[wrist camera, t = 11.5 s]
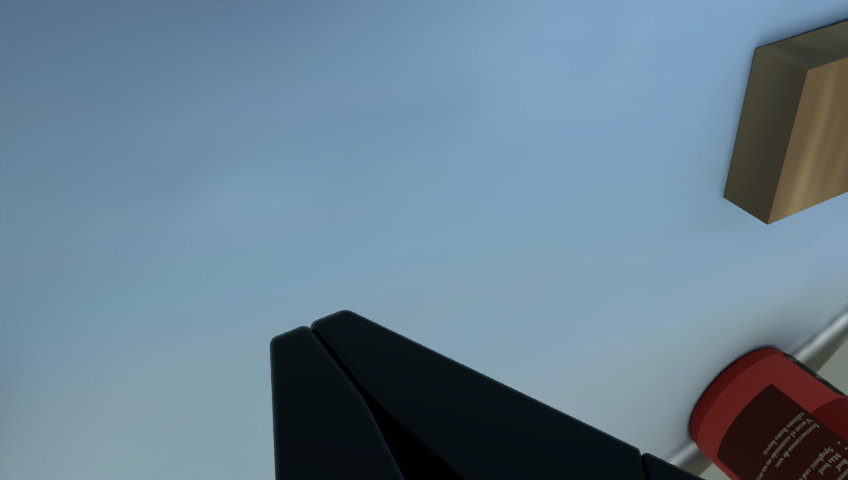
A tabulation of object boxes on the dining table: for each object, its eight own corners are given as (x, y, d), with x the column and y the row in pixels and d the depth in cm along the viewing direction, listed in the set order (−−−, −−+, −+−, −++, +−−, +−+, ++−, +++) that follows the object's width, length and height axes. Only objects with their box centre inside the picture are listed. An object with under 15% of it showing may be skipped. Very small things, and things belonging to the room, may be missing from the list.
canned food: (770, 408, 49) (936, 541, 41) (677, 465, 46) (836, 619, 38) (795, 322, 44) (988, 453, 36) (694, 380, 41) (879, 535, 33)
